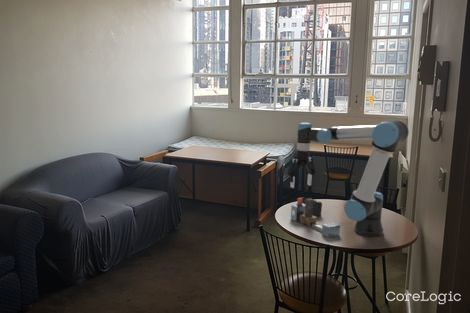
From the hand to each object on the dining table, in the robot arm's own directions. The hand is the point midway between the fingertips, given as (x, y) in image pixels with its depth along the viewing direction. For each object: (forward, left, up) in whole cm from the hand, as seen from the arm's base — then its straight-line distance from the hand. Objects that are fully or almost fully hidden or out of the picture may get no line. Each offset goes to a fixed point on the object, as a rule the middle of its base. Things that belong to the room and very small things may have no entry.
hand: (300, 186), depth 238 cm
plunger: (0, 0, -12) cm, 12 cm away
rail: (-13, 0, -21) cm, 25 cm away
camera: (+7, -16, -21) cm, 27 cm away
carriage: (-8, 0, -21) cm, 22 cm away
